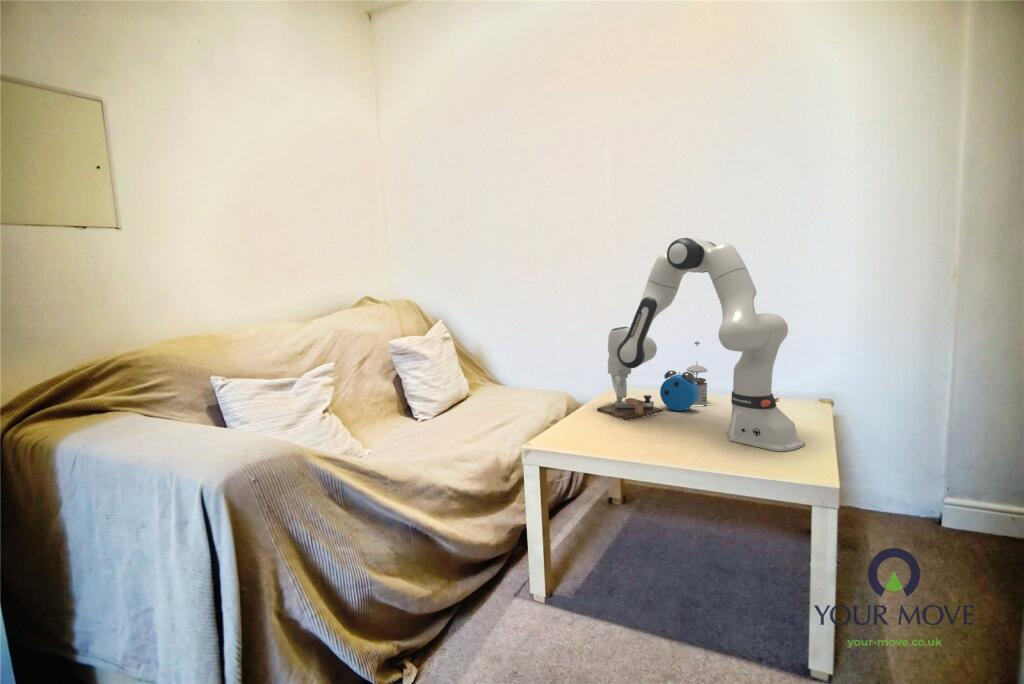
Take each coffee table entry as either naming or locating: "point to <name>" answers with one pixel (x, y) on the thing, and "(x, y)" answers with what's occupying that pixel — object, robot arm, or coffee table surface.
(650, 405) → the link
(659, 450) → the coffee table surface
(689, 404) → the alarm clock
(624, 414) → the pivot board
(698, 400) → the french press
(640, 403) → the keeper
